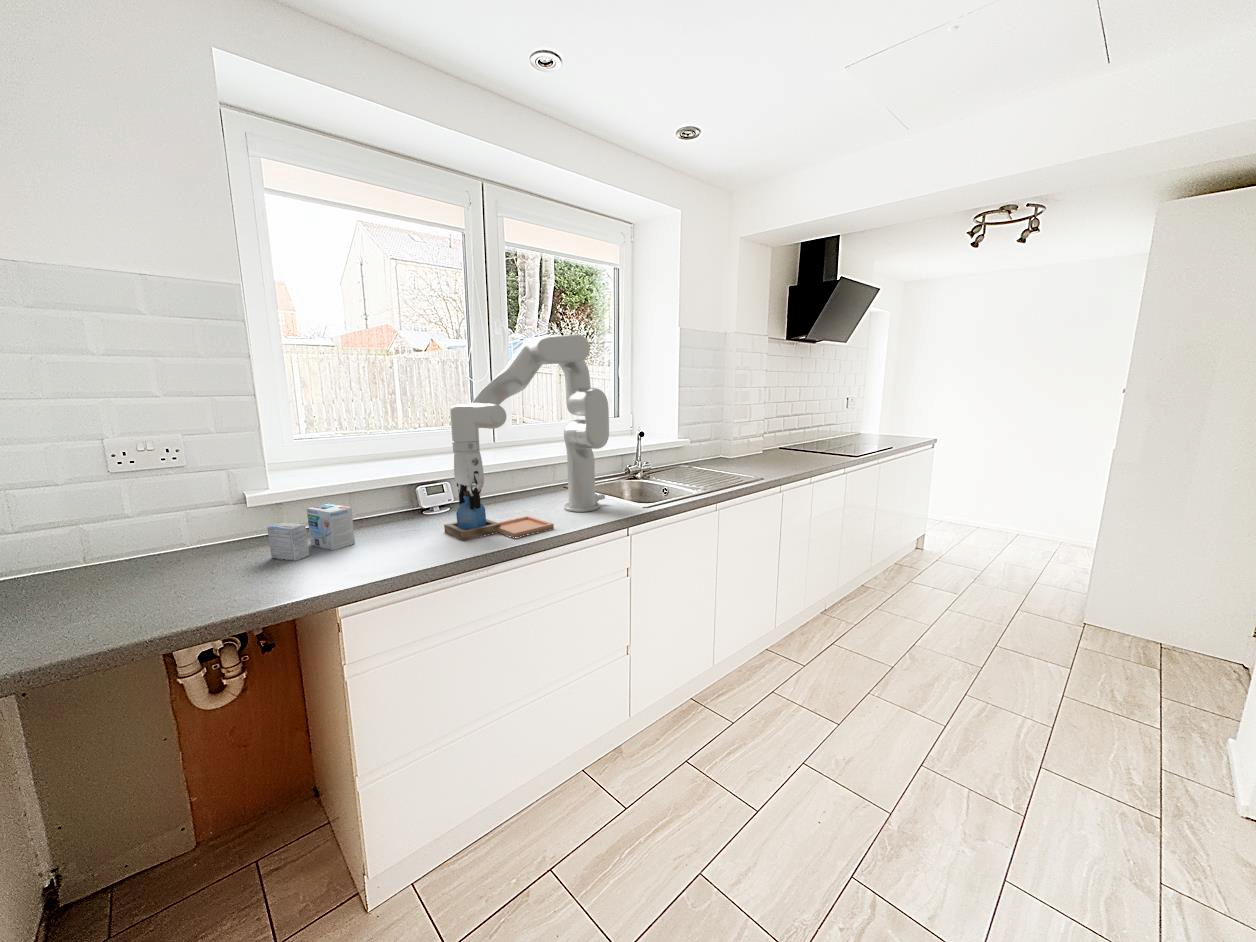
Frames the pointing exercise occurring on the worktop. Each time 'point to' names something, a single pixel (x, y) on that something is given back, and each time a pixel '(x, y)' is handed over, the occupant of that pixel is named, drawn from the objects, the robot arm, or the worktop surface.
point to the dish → (523, 526)
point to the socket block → (471, 530)
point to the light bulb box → (331, 526)
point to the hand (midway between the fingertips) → (469, 506)
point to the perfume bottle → (470, 515)
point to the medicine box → (288, 541)
